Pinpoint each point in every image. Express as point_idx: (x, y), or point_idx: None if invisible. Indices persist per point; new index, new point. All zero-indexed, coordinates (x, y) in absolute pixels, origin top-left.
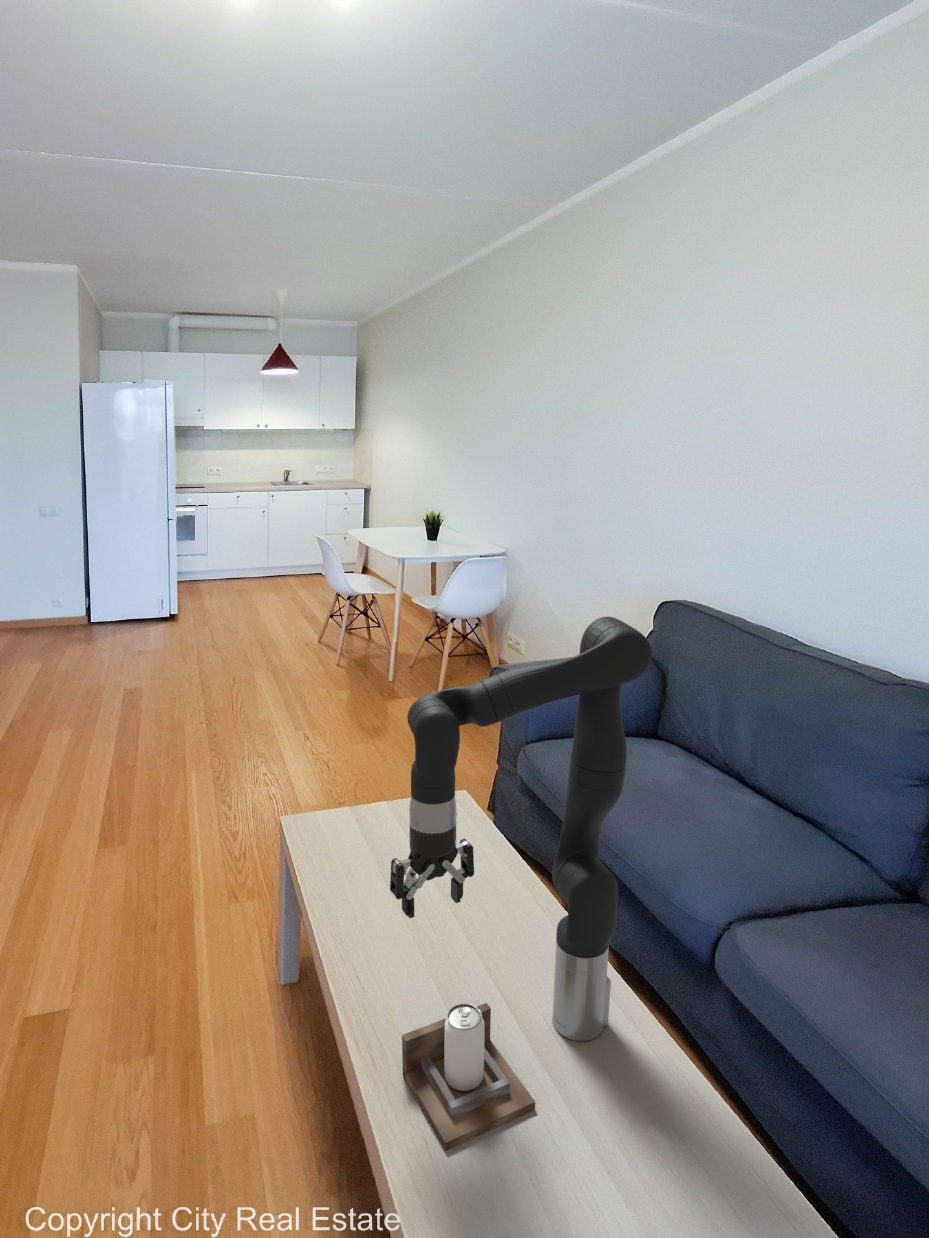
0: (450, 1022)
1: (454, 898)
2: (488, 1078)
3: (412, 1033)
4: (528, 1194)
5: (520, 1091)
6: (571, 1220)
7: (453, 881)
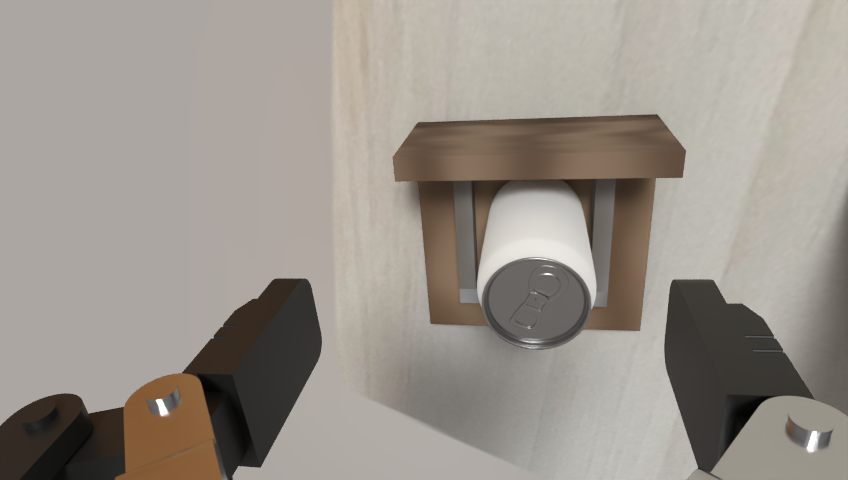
0: (484, 306)
1: (671, 343)
2: None
3: (421, 164)
4: (524, 425)
5: (627, 298)
6: (560, 476)
7: (716, 435)
